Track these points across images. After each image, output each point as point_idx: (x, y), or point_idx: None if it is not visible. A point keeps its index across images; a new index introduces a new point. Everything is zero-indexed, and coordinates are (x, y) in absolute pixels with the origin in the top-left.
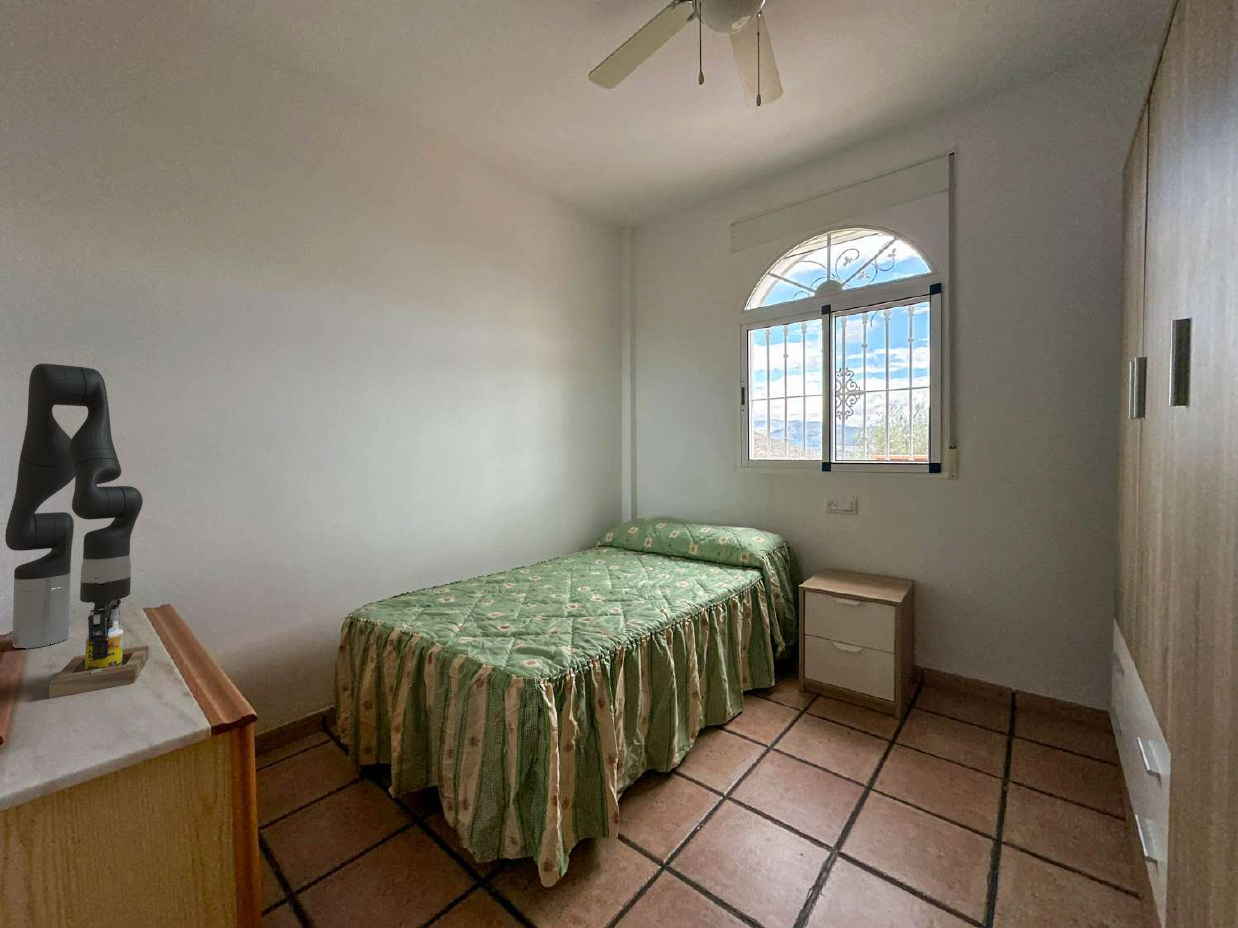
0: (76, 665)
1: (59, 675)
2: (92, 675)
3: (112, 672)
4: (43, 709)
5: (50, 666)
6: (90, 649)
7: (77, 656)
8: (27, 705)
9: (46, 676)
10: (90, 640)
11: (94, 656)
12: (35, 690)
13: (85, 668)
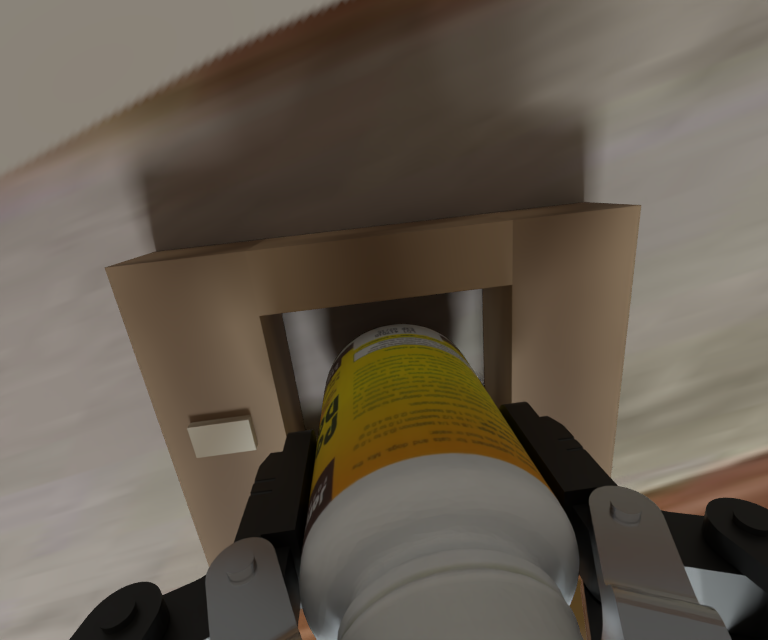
0: (417, 287)
1: (246, 265)
2: (173, 434)
3: (191, 502)
4: (4, 286)
5: (741, 39)
6: (322, 449)
7: (624, 223)
8: (83, 189)
9: (545, 94)
10: (87, 630)
11: (263, 462)
12: (314, 132)
13: (363, 340)
